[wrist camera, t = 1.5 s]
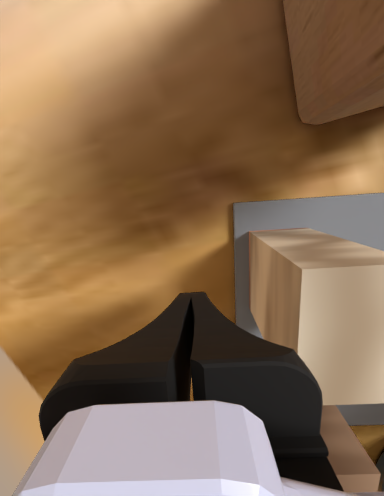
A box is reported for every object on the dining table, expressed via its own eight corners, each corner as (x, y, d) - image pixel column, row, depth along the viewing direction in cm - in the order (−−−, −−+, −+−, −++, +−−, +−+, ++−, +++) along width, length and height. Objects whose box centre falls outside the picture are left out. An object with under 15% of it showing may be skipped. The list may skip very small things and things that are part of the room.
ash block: (306, 227, 15) (421, 262, 7) (302, 305, 17) (394, 403, 9) (248, 231, 15) (302, 269, 8) (249, 308, 17) (294, 406, 9)
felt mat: (440, 188, 15) (447, 188, 14) (395, 419, 20) (399, 423, 19) (233, 203, 15) (234, 203, 15) (238, 424, 20) (238, 429, 20)
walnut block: (299, 350, 18) (380, 473, 10) (296, 409, 19) (364, 557, 11) (249, 352, 18) (290, 476, 10) (249, 411, 19) (286, 558, 11)
